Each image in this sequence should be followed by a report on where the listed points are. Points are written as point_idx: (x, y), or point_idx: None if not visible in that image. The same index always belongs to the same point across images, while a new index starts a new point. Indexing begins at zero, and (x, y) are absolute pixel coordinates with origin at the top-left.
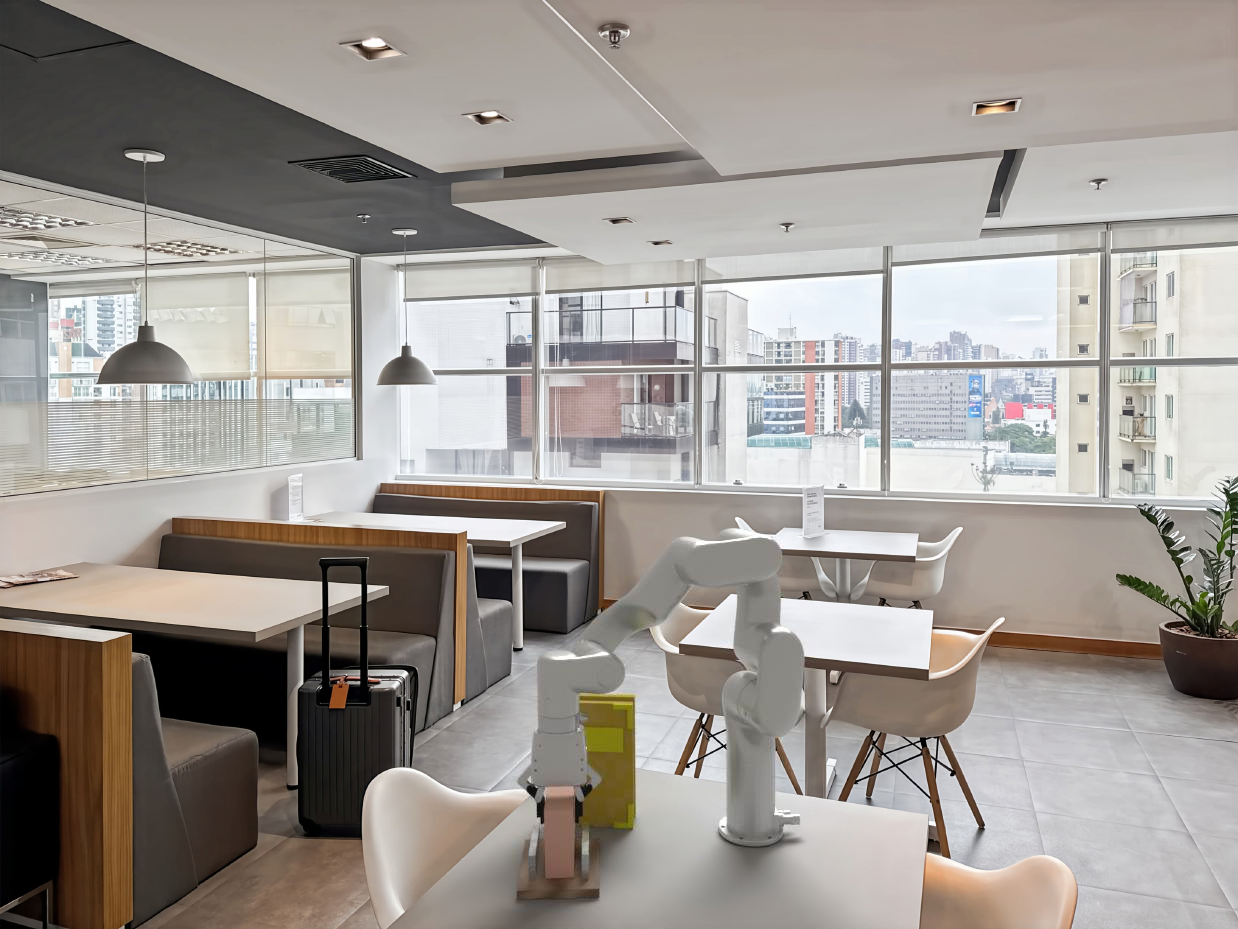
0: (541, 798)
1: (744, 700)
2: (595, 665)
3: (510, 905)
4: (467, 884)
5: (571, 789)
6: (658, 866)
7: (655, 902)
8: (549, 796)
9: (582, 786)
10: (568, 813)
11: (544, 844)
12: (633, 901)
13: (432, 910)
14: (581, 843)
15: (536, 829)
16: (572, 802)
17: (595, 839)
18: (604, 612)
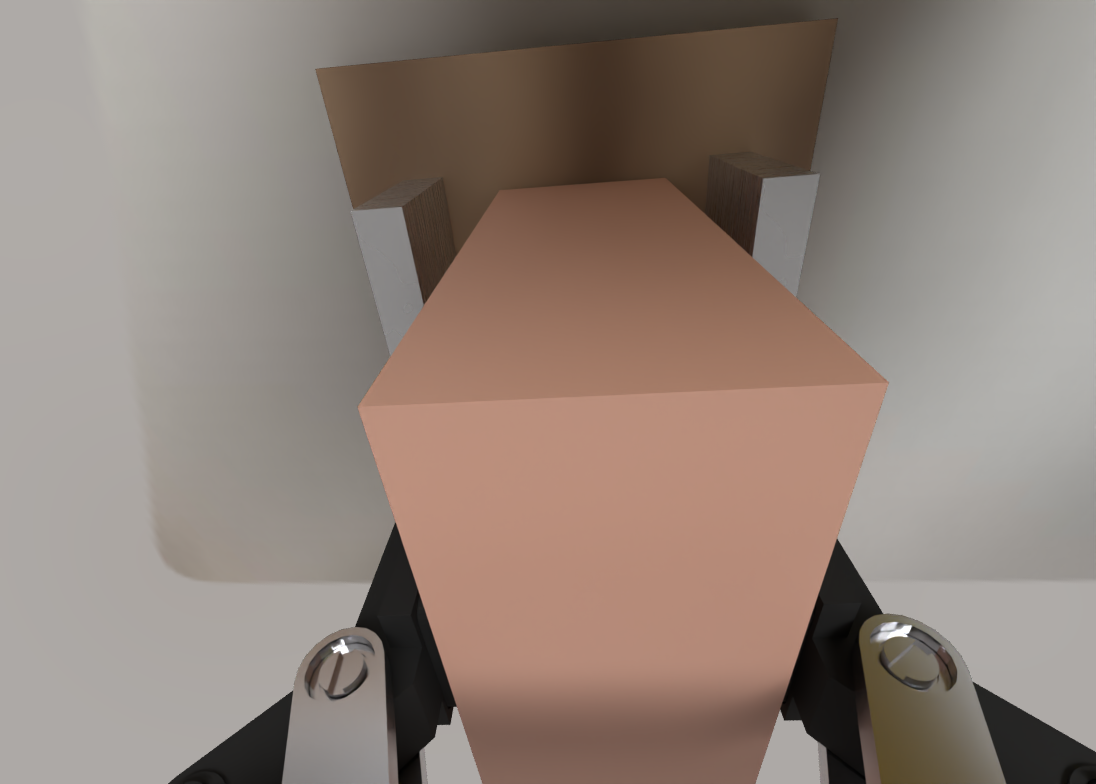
0: (423, 764)
1: None
2: None
3: None
4: (225, 428)
5: (786, 566)
6: (1076, 277)
7: (929, 514)
8: (493, 690)
9: (989, 753)
10: None
11: (463, 144)
12: (853, 510)
13: (203, 551)
14: (704, 120)
15: (407, 308)
16: (751, 771)
17: (809, 51)
18: None
